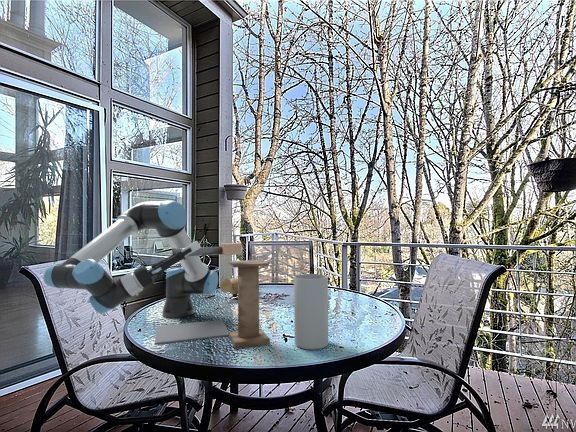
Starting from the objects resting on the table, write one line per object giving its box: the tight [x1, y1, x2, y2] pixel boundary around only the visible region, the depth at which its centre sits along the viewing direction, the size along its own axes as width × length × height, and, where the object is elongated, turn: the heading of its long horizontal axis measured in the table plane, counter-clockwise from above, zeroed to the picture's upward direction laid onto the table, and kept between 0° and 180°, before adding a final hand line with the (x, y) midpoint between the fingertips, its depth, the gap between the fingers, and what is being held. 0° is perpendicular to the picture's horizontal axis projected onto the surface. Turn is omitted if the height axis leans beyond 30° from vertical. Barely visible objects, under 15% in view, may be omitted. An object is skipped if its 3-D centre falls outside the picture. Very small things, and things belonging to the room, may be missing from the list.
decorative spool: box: [219, 277, 238, 298], centre depth 207 cm, size 10×12×30 cm
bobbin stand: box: [228, 259, 271, 349], centre depth 129 cm, size 13×13×30 cm
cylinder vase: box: [293, 273, 329, 351], centre depth 124 cm, size 12×12×25 cm
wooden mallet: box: [171, 242, 243, 257], centre depth 124 cm, size 24×7×4 cm, turn 109°
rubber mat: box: [154, 319, 230, 345], centre depth 140 cm, size 22×28×1 cm
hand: (198, 244), depth 123 cm, fingers closed on wooden mallet, 3 cm apart
